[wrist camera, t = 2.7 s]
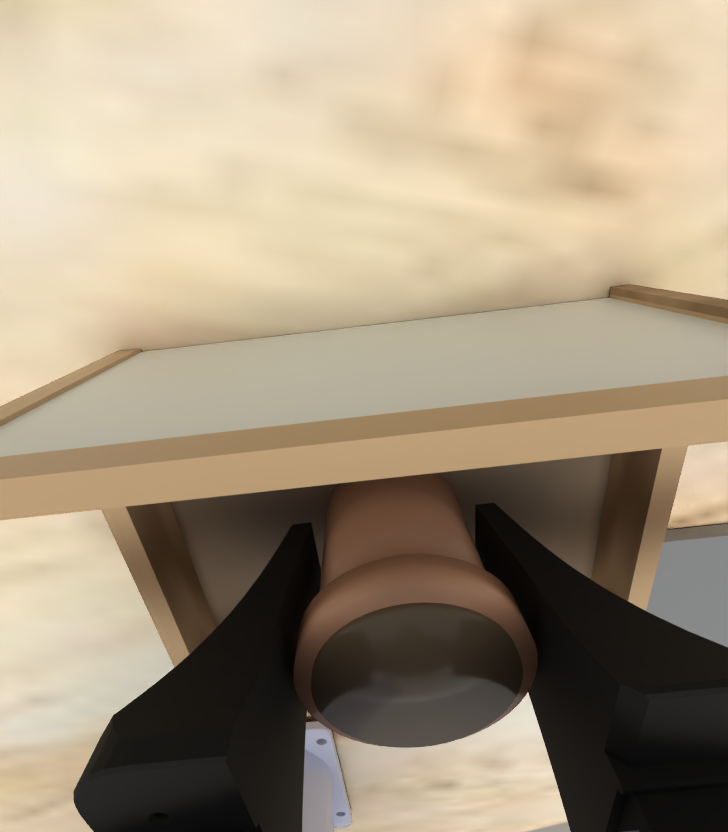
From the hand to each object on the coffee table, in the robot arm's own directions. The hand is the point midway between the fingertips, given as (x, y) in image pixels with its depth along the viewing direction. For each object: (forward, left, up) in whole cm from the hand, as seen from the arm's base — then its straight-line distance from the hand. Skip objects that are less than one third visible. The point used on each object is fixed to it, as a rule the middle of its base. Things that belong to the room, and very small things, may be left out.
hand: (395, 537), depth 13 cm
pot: (0, 0, -1) cm, 1 cm away
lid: (+6, 0, -2) cm, 7 cm away
